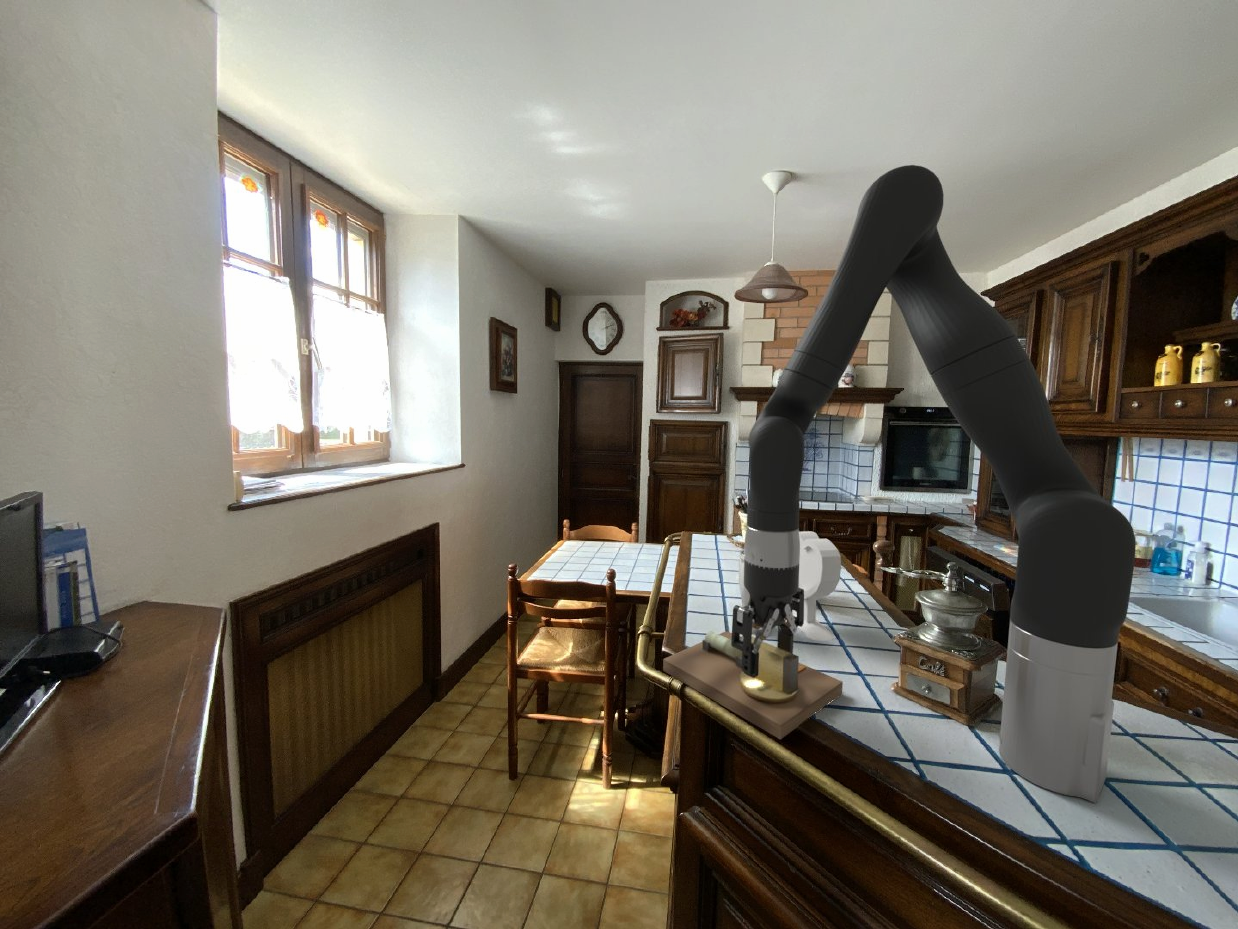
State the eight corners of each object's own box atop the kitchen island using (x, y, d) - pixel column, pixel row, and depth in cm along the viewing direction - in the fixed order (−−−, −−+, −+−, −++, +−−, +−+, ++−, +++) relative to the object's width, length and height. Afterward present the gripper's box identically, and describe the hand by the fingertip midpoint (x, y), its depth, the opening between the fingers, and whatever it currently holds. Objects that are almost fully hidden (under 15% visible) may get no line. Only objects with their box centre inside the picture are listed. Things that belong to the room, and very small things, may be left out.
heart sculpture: (780, 609, 105) (783, 526, 103) (803, 608, 105) (806, 526, 103) (815, 644, 90) (818, 547, 88) (842, 642, 90) (846, 546, 88)
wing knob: (809, 688, 72) (810, 649, 71) (777, 710, 67) (778, 668, 66) (761, 666, 78) (762, 630, 77) (729, 684, 73) (729, 646, 72)
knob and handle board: (842, 694, 74) (843, 664, 73) (780, 739, 64) (781, 705, 64) (726, 641, 91) (726, 616, 91) (663, 670, 81) (663, 643, 81)
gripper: (763, 575, 63) (760, 695, 65) (822, 553, 72) (818, 659, 73) (717, 561, 69) (716, 671, 71) (777, 542, 77) (774, 641, 79)
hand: (768, 665), depth 72 cm, fingers open, 8 cm apart
